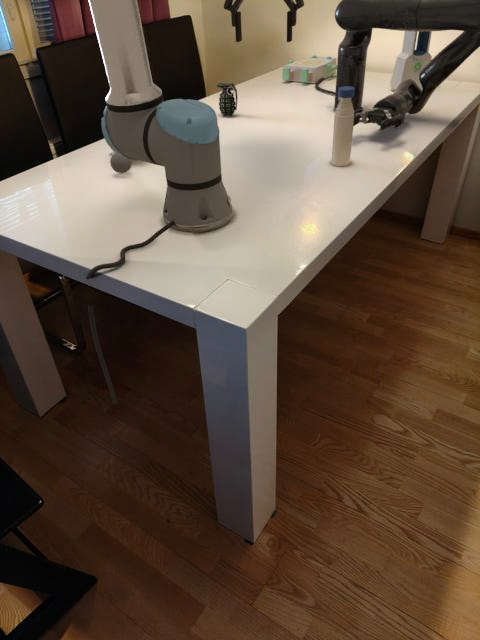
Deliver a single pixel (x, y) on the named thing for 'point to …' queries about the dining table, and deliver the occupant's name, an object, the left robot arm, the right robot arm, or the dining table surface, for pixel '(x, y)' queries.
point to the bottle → (343, 132)
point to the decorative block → (310, 69)
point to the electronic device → (411, 58)
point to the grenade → (227, 99)
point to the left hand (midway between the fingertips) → (263, 41)
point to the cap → (346, 92)
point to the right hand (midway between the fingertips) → (366, 124)
